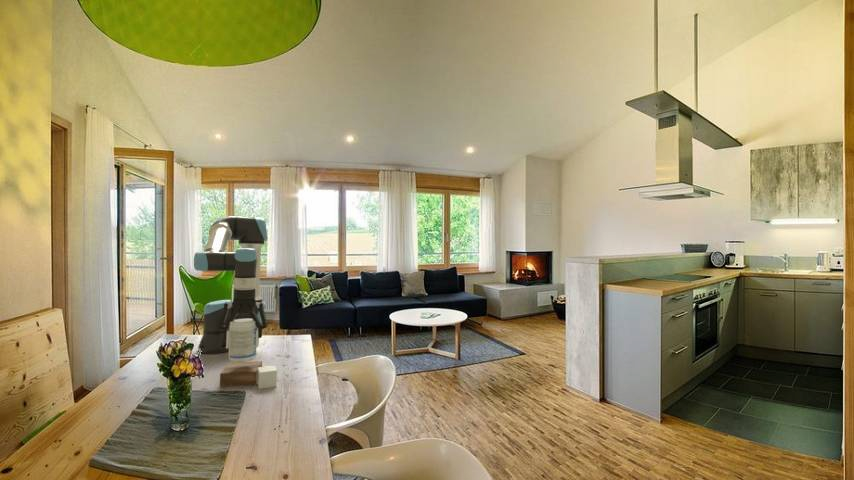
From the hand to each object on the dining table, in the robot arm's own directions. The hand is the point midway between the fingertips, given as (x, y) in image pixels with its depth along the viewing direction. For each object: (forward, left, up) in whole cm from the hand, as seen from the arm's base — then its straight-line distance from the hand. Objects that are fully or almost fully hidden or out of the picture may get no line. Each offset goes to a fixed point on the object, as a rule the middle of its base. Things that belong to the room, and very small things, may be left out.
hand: (242, 346), depth 142 cm
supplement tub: (0, 0, -5) cm, 5 cm away
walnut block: (0, 0, -13) cm, 13 cm away
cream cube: (+6, +10, -13) cm, 17 cm away
